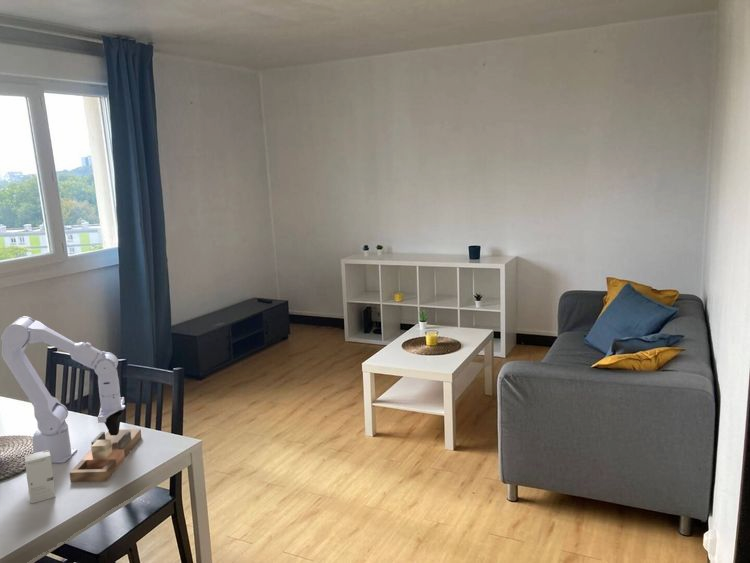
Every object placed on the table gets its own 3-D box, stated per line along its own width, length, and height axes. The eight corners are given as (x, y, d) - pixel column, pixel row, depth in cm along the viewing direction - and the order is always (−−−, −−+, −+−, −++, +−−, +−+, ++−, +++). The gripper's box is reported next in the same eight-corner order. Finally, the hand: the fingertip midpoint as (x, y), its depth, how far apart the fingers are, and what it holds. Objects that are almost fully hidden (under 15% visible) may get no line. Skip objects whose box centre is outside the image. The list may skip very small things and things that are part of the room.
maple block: (92, 458, 174) (91, 446, 173) (98, 452, 177) (97, 439, 177) (106, 458, 174) (105, 445, 173) (112, 451, 178) (110, 439, 177)
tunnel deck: (70, 482, 167) (68, 464, 166) (110, 438, 193) (108, 422, 192) (106, 481, 167) (104, 463, 166) (141, 437, 193) (139, 421, 192)
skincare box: (30, 504, 156) (24, 462, 154) (29, 496, 160) (22, 455, 158) (56, 496, 160) (50, 455, 157) (55, 489, 163) (49, 448, 161)
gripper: (112, 402, 174) (117, 445, 177) (132, 384, 189) (136, 423, 191) (88, 402, 174) (93, 445, 177) (109, 384, 189) (114, 424, 191)
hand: (114, 434), depth 184 cm, fingers closed
